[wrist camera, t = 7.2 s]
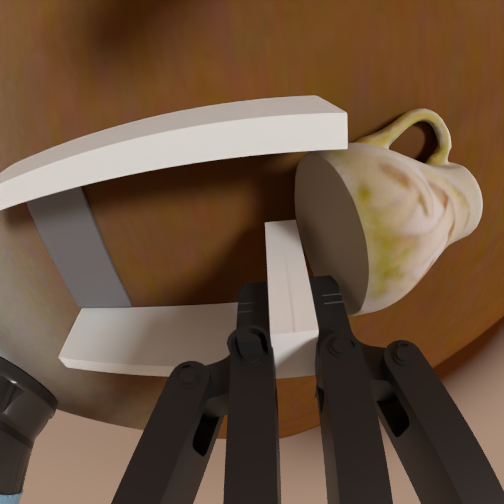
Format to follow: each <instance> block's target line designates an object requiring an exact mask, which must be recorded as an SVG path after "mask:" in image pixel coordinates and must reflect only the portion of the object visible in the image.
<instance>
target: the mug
mask: <svg viewBox="0 0 504 504" xmlns="http://www.w3.org/2000/svg"><path fill="white" fill-rule="evenodd" d="M419 121H424V122H427V123H429V124H430V125H431V126H432V127H433V129H434V132H435V134H436V137H437V140H438V150H437V152H436V153H434V154H433V155H431V156H430V157H429V158H428V159H427V161H426V162H425V164H424V163H422V162H419V161H417V160H414V159H412V158H409V157H407V156H404V155H402V154H399V153H397V152H395V151H392V150H389V146H390V144H391V143H392V142H393V141H395V140H396V139H397V137H398V136H399V135H400V134H402V133H403V132H404V131H405V130H406V129H407V128H408V127H410V126H411V125H412V124H414V123H416V122H419ZM450 149H451V138H450V133H449V131H448V129H447V127H446V125H445V123H444V122H443V120H442V119H441V118H440V116H439V115H437V114H436V113H435V112H433V111H431V110H428V109H424V108H421V109H413V110H410V111H408V112H406V113H405V114H403V115H402V116H400V117H399V118H398V119H397V120H395V121H394V122H393V123H391V124H390V125H388V126H387V127H385V128H384V129H382V130H380V131H378V132H376V133H373V134H371V135H368V136H365V137H361V138H359V139H358V140H357V141H356V142H355V143H348V149H337V150H316V151H312V152H310V153H308V154H306V155H305V156H304V157H303V158H302V159H301V160H300V161H299V163H298V165H297V170H296V175H295V193H294V194H295V214H296V219H297V224H298V229H299V233H300V237H301V241H302V244H303V247H304V250H305V253H306V256H307V259H308V261H309V264H310V267H311V269H312V272H313V274H314V277H316V276H326V275H330V276H331V277H332V278H333V279H334V280H335V281H336V282H337V283H338V286H339V289H340V292H341V296H342V299H343V303H344V306H345V310H346V313H347V314H348V315H351V316H357V315H361V314H365V313H370V312H375V311H378V310H381V309H383V308H386V307H388V306H390V305H392V304H393V303H395V302H396V301H398V300H400V299H401V298H402V297H404V296H405V295H406V294H407V293H408V292H409V291H411V290H412V289H413V288H414V287H415V285H416V284H417V283H418V282H419V281H420V280H421V279H422V277H423V276H424V275H425V274H426V273H427V271H428V270H429V269H430V267H431V266H432V265H433V263H434V262H435V261H436V259H437V258H438V257H439V255H440V254H441V253H442V252H443V250H444V249H445V248H446V247H447V246H448V245H450V244H451V243H453V242H455V241H457V240H459V239H461V238H463V237H466V236H468V235H469V234H471V233H472V231H473V230H474V229H475V228H476V227H477V225H478V223H479V221H480V218H481V215H482V207H483V202H482V195H481V191H480V188H479V186H478V184H477V182H476V180H475V178H474V177H473V175H472V174H471V173H470V172H469V171H468V170H467V169H466V168H465V167H463V166H461V165H458V164H455V163H450V162H448V160H447V158H448V154H449V151H450Z"/></svg>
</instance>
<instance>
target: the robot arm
mask: <svg viewBox="0 0 504 504" xmlns="http://www.w3.org/2000/svg"><path fill="white" fill-rule="evenodd" d="M265 236H266V255H267V275H268V282H259V283H247V284H244V285H243V286H242V288H241V290H240V291H239V293H238V308H237V325H236V330H234V331H233V332H232V333H231V334H230V335H229V337H228V340H227V346H228V350H229V353H230V354H229V355H228V356H227V357H226V358H224V359H223V360H220V361H218V362H215V363H212V364H209V365H205V366H204V364H202V363H200V362H197V361H186V362H183V363H181V364H179V365H178V366H176V367H175V368H174V370H173V371H172V372H171V374H170V376H169V378H168V380H167V382H166V384H165V387H164V389H163V391H162V393H161V395H160V397H159V399H158V401H157V404H156V406H155V408H154V410H153V412H152V414H151V416H150V419H149V421H148V423H147V425H146V427H145V429H144V432H143V434H142V436H141V438H140V440H139V443H138V445H137V447H136V449H135V451H134V453H133V456H132V458H131V460H130V462H129V465H128V467H127V469H126V472H125V474H124V476H123V478H122V480H121V483H120V485H119V487H118V489H117V492H116V494H115V496H114V498H113V501H112V503H111V504H193V502H194V500H195V497H196V494H197V491H198V489H199V486H200V483H201V480H202V478H203V475H204V472H205V469H206V467H207V464H208V461H209V458H210V455H211V452H212V450H213V447H214V444H215V441H216V438H217V435H218V433H219V430H220V427H221V424H222V421H223V418H224V415H227V414H228V421H227V439H226V459H225V480H224V482H225V483H224V503H223V504H281V482H280V451H279V424H278V400H277V387H276V379H278V378H290V377H301V376H310V375H315V372H316V379H317V385H316V393H315V398H316V397H317V399H318V408H319V416H320V425H321V434H322V443H323V453H324V464H325V475H326V486H327V499H328V504H393V501H392V494H391V487H390V480H389V474H388V468H387V462H386V456H385V451H384V446H383V441H382V435H381V430H380V426H379V421H378V417H379V419H380V421H381V423H382V425H383V426H384V428H385V430H386V432H387V434H388V436H389V438H390V440H391V442H392V444H393V446H394V448H395V450H396V452H397V454H398V456H399V458H400V460H401V463H402V465H403V466H404V469H405V471H406V473H407V475H408V477H409V479H410V481H411V483H412V485H413V487H414V489H415V492H416V494H417V496H418V498H419V500H420V502H421V504H504V491H503V489H502V487H501V485H500V483H499V481H498V479H497V477H496V475H495V473H494V471H493V469H492V467H491V465H490V463H489V461H488V460H487V458H486V456H485V454H484V452H483V450H482V448H481V447H480V445H479V443H478V441H477V439H476V438H475V436H474V435H473V432H472V431H471V429H470V427H469V426H468V424H467V422H466V421H465V419H464V417H463V416H462V414H461V412H460V411H459V409H458V407H457V406H456V404H455V403H454V401H453V400H452V398H451V396H450V395H449V393H448V392H447V390H446V388H445V387H444V385H443V384H442V382H441V381H440V379H439V378H438V376H437V375H436V373H435V372H434V370H433V369H432V367H431V366H430V364H429V363H428V361H427V360H426V358H425V357H424V356H423V354H422V353H421V351H420V350H419V348H418V347H417V346H416V345H414V344H413V343H411V342H409V341H405V340H398V341H394V342H392V343H391V344H389V345H388V346H387V348H381V347H373V346H369V345H365V344H363V343H361V342H360V341H358V340H357V339H356V338H355V336H354V335H353V333H352V331H351V327H350V324H349V320H348V317H347V313H346V310H345V306H344V303H343V299H342V296H341V292H340V289H339V286H338V283H337V282H336V281H335V280H334V279H333V278H332V277H331V276H330V275H326V276H316V277H308V273H307V268H306V263H305V259H304V254H303V249H302V245H301V240H300V236H299V231H298V227H297V223H296V220H286V221H275V222H265ZM57 405H58V404H57V401H56V399H55V398H54V397H53V396H52V395H51V394H50V393H49V392H48V391H47V390H46V389H45V388H44V387H43V386H42V385H40V384H39V383H38V382H37V381H35V380H34V379H33V378H32V377H30V376H29V375H27V374H26V373H25V372H23V371H22V370H20V369H19V368H17V367H16V366H14V365H13V364H11V363H9V362H8V361H6V360H4V359H2V358H0V504H19V501H20V497H21V495H22V493H23V484H24V480H25V475H26V471H27V467H28V463H29V459H30V455H31V452H32V448H33V444H34V442H35V439H36V437H37V436H38V435H39V433H40V432H41V430H42V429H43V428H44V427H45V425H46V424H47V422H48V420H49V419H51V418H52V417H53V416H54V414H55V411H56V408H57ZM377 415H378V416H377Z"/></svg>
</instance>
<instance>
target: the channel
mask: <svg viewBox="0 0 504 504" xmlns="http://www.w3.org/2000/svg"><path fill="white" fill-rule="evenodd" d="M337 149H348V130H347V113H346V112H345V111H343V110H341V109H340V108H338V107H336V106H334V105H333V104H331V103H329V102H327V101H325V100H324V99H322V98H320V97H318V96H316V95H315V96H293V97H278V98H266V99H256V100H247V101H239V102H231V103H224V104H217V105H210V106H204V107H198V108H193V109H187V110H182V111H177V112H172V113H168V114H163V115H158V116H154V117H150V118H146V119H142V120H138V121H134V122H130V123H126V124H122V125H119V126H115V127H112V128H108V129H105V130H102V131H99V132H95V133H92V134H89V135H86V136H83V137H80V138H77V139H74V140H71V141H69V142H66V143H63V144H60V145H58V146H55V147H52V148H50V149H47V150H45V151H42V152H40V153H37V154H35V155H33V156H30V157H28V158H25V159H23V160H21V161H19V162H16V163H14V164H13V165H11V166H10V167H8V168H7V169H5V170H4V171H2V172H1V173H0V210H2V209H5V208H8V207H11V206H14V205H17V204H20V203H23V202H26V204H27V207H28V209H29V211H30V214H31V216H32V218H33V221H34V223H35V225H36V227H37V229H38V232H39V234H40V236H41V238H42V240H43V242H44V244H45V246H46V248H47V250H48V252H49V254H50V256H51V258H52V260H53V262H54V264H55V266H56V268H57V269H58V271H59V273H60V275H61V277H62V278H63V280H64V282H65V284H66V286H67V287H68V289H69V291H70V292H71V294H72V296H73V297H74V299H75V301H76V302H77V304H78V306H79V307H128V308H82V309H81V311H80V313H79V315H78V317H77V319H76V321H75V323H74V325H73V327H72V329H71V331H70V333H69V335H68V338H67V340H66V342H65V344H64V346H63V348H62V351H61V353H60V355H59V357H58V358H59V359H60V360H61V361H62V362H63V363H64V365H65V366H66V367H69V368H76V369H83V370H91V371H100V372H109V373H120V374H132V375H147V376H168V377H169V376H170V374H171V372H172V371H173V370H174V368H175V367H176V366H178V365H179V364H181V363H183V362H186V361H197V362H200V363H202V364H204V366H205V365H209V364H212V363H215V362H218V361H220V360H223V359H224V358H226V357H227V356H228V355H229V354H230V353H229V350H228V346H227V340H228V337H229V335H230V334H231V333H232V332H233V331H234V330H236V325H237V308H238V302H236V303H221V304H204V305H184V306H161V307H129V306H132V305H133V304H132V302H131V300H130V298H129V296H128V294H127V292H126V290H125V288H124V286H123V284H122V282H121V280H120V278H119V276H118V273H117V271H116V269H115V267H114V265H113V262H112V260H111V258H110V256H109V253H108V251H107V249H106V247H105V244H104V242H103V240H102V237H101V235H100V232H99V230H98V227H97V225H96V222H95V220H94V217H93V215H92V212H91V209H90V207H89V204H88V201H87V199H86V196H85V193H84V190H83V187H82V186H83V185H87V184H91V183H95V182H99V181H104V180H108V179H112V178H117V177H121V176H126V175H131V174H136V173H141V172H146V171H151V170H157V169H162V168H168V167H174V166H180V165H186V164H192V163H199V162H205V161H213V160H220V159H228V158H236V157H244V156H254V155H264V154H274V153H286V152H300V151H316V150H337Z"/></svg>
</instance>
